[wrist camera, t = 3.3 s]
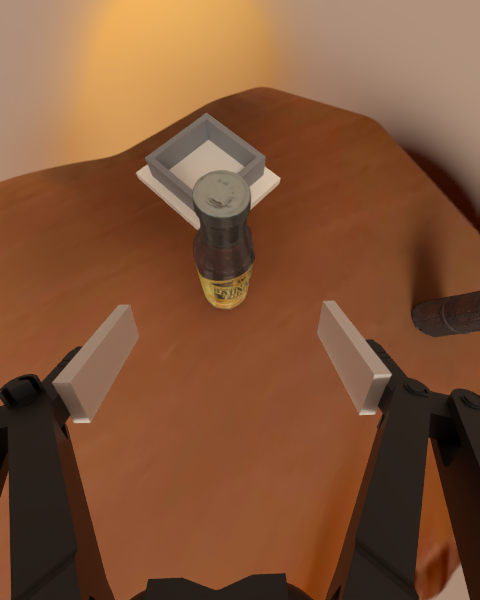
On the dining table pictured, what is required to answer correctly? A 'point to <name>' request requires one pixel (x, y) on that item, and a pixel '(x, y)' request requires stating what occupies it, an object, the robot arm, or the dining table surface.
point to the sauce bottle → (223, 237)
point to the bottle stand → (203, 165)
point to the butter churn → (449, 315)
